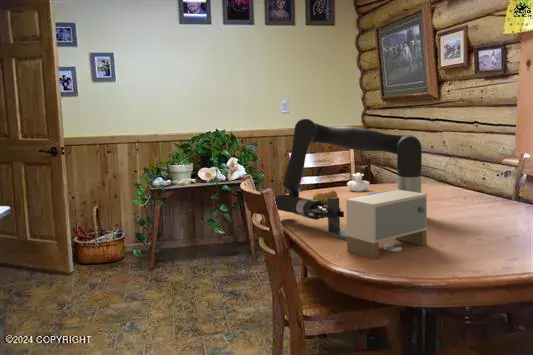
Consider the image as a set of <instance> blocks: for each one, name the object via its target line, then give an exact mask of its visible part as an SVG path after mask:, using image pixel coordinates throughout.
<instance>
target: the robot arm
mask: <svg viewBox="0 0 533 355" xmlns="http://www.w3.org/2000/svg"><path fill="white" fill-rule="evenodd" d="M311 143H319V144H329V145H332V146H337V147H339V148H343V149H347V150H353V151H358V152H359V151H361V152H384V153H388V154H389V153H390V154H395V155H397V156H396V157H397V159H396V160H397V162H396V163H397V164H396V165H397V167H396V168H397V169H396V170H397V173H396V174H397V176H396V178H397V179H396V180H397V190H404V191H410V192H417V193H422V162H423V161H422V160H423V158H422V157H423V156H422V154H423V153H422V152H423V151H422V150H423V149H422V148H423V147H422V143H421V141H420V140H419V138H418V137H416V136H414V135H410V134H409V135H407V134H405V135H403V134H401V135H400V134H389V133H385V132H384V133H383V132H380V131H376V130H372V129H369V128H363V127H356V126H345V125H344V126H343V125H342V126H330V125H324V124H320V123H316V122H314V121H313V120H312V119H310V118H305V117H304V118H302V119H299V120H298V121H297V122H296V123H295V125H294V132H293V142H292V146H291V151H290V152H291V153H290V156H289V160H288V163H287V167H286V171H285V174H284V178H283V181H282V187H283V188H285V189H286V190H288V194H286V193H278V194H276V195H275V197H274V198H275V201H276V205H277V211H281V212H286V213H290V214H294V215H298V216H301V217H304V218H307V219H310V220H314V221H315V220H316V221H317V220H320V219H321V220H323V219H328V218H332V219H336V218H337V217H336V213H334V212H328V206H325V205H324V204H323V203H322V202H321V201H319V200H314V199H313V198H307V197H300V185H301V181H302V178H303V173H304V169H305V164H306V163H305V162H306V157H307V152H308V149H309V146H310V144H311ZM339 217H340V218H344V217H345V212H344V211H343V210H341V208H340V207H339Z"/></svg>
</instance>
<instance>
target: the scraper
mask: <svg viewBox="0 0 533 355" xmlns="http://www.w3.org/2000/svg"><path fill="white" fill-rule="evenodd" d="M327 199H328V212H334V213H336V217H337V218H336V219H332V218H327V226H328V227H327V228H328V229H326V230H324V231H323V233H324V235H327V236H330V237H335V238H337V239H340V240H345V241H347V228H342V227H341V224H340V223H341V220H340V219H341V217H339V208H340V197H338V196H337V197H330V198H327Z"/></svg>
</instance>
